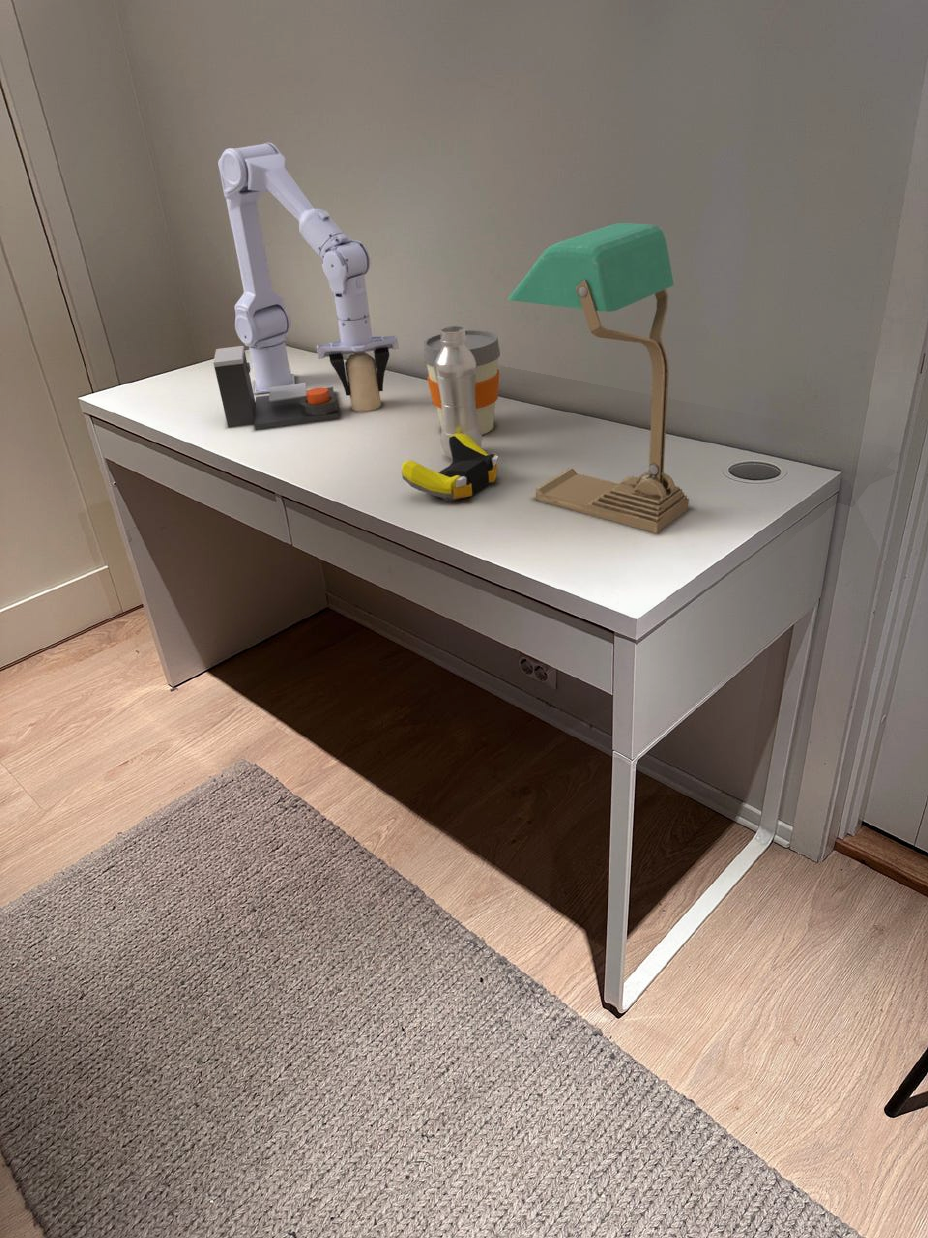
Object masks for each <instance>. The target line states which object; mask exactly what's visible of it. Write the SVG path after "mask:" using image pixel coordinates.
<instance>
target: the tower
mask: <svg viewBox="0 0 928 1238" xmlns="http://www.w3.org/2000/svg"><path fill="white" fill-rule="evenodd" d="M213 357H214V358H213V362H212V363H213V367H214V368H213V369H214V372H215V377H216V380H217V385H218V389H219V394H220V397H221V403H222V406H223V411H224V415H225V420H226V424H227V428H236V427H242V426H250V425H252V426H253V425H254V420H255V404H256V397H255V392H254V389H253V384H252V379H251V375H250V373H251V369H252V368H251V364H250V363H251V362H248V361H247V355H246V350H245V345H237V346H230V347H223V348H222V347H221V348H216V349H215V353H214V356H213ZM307 390H308V389H307V382H300V383H295V384H291V385H283V386H276V387H269V392H268V395H269V402H272V401H280V400H288V399H295V398H303V397H307V395H306V392H307Z"/></svg>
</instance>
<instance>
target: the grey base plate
mask: <svg viewBox="0 0 928 1238" xmlns="http://www.w3.org/2000/svg"><path fill="white" fill-rule="evenodd" d="M326 388H327V389H328V392H329V398H330V400H329V401H328V402H325V403H321V404H309V403H308V400H307V397H303V398H295V399H288V400H280V401H272V402H269V394H268V395H260V396H255V402H256V404H255V420H254V424H253V425H254V426H253V427H254V431H262V430H268V429H269V430H271V429H277V428H278V429H279V428H284V427H285V428H286V427H291V426H299V425H300V426H301V425H306V424H307V425H308V424H315V423H321V422H322V423H323V422H329V421H337V420H339V414H338V410H339V409H340V405H339V399H338V396H337V395H336V394H335V391H334V387H333V386H328V387H326ZM308 390H309V389H307V391H308Z"/></svg>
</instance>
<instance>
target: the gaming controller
mask: <svg viewBox="0 0 928 1238" xmlns="http://www.w3.org/2000/svg"><path fill="white" fill-rule="evenodd" d="M449 447H450V451H451V455H452V458H451V459H452V462H451V464H450V465H448V466H447V467H445V468H443V469H442V470H440V471H438V472H437V471H435V470H432V469H430V468H427V467H425V466H423V465H422V464H420V463H418V462H415V461H413V460H410V459H409V460H407V461H405V462H404V461H403V463H402V469H401V476H402V479H403V480H404V481H405V482H406V483H407V484H408V485H409V486H410V487H411V488H413V489H415V490H418V491H420V492H423V493H425V494H428V495H430V496H433V497H437V498H441V500H443V501H444V502H455V501H457V500H460V499H465V498H468V497H472V496H473V495H474V494H475V493H477V492H478V491H480V490H481V489H483V488H484V487H486V486H488V485H489V484H490V483H493V482H495V480H496V477H497V474H498V463H497V462H498V459H499V456H498V455H497V454H496V453H487V452H486V451H485V449H483V448H482V446H481V447H480V446H478V445H477V444H476V443H475V442H474V441H473V440H472V439H471V438H470V437H469V436H467V435H464V434H461V433H457V434H455V435H453V436H450V438H449Z"/></svg>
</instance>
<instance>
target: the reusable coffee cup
mask: <svg viewBox="0 0 928 1238" xmlns="http://www.w3.org/2000/svg"><path fill="white" fill-rule="evenodd" d="M465 337H466V341H465V342H464V343H465V345H466V347H467V348H468V349H469V350H470V352H471V353H472V354H473V356H474V358H475V361H476V380H475V404H476V412H477V418H478V425H479V427H480V430H481V435H482V436H483V435H486V434H488V433H489V432H490V431H492V430H493V428H494V423H495V422H494V420H495V408H496V405H495V404H496V402H497V401H498V398H499V386H500V369H498V365H499V364H498V363H499V357H500V356H501V352H500V351H501V350H500V346H499V345H500V344H499V338H498V336H497V334H496V333H494V332H491V331H488V330H481V329H465ZM440 339H441V334H440V333H437V334H435V335H432V336H430V337H428V338H427V339H425V340H424V342H423V343H424V344H423V362H424V363H425V364H426V367H427V372H428V375H427V377H426V378H427V382H428V387H429V391H430V397H431V400H432V404H433V405H434V406H435V407H436V411H437V415H438V421H439V425H440V429H441V431H442V406H441V400H440V393H439V388H438V384H437V379H436V375H435V371H434V363H435V359H436V357H437V355H438V353H439V351H440V350H441V348H442V346H443V344H441V343H440Z"/></svg>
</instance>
